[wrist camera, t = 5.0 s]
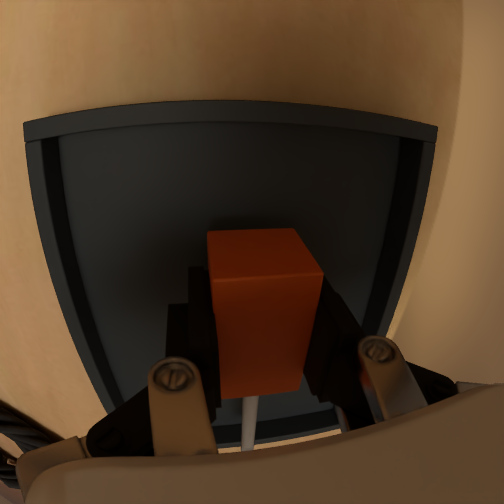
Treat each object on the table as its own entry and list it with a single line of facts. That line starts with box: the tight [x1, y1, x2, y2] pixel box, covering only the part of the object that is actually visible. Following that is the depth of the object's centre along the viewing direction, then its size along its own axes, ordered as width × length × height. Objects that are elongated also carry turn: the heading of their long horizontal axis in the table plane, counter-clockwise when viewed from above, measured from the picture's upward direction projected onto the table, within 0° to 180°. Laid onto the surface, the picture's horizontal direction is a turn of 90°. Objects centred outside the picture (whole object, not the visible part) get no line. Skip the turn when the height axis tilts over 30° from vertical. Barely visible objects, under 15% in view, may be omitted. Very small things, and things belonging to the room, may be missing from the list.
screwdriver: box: [207, 228, 324, 451], centre depth 13 cm, size 13×3×3 cm, turn 178°
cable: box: [0, 407, 52, 489], centre depth 16 cm, size 17×14×4 cm
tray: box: [23, 100, 438, 449], centre depth 14 cm, size 19×15×2 cm
